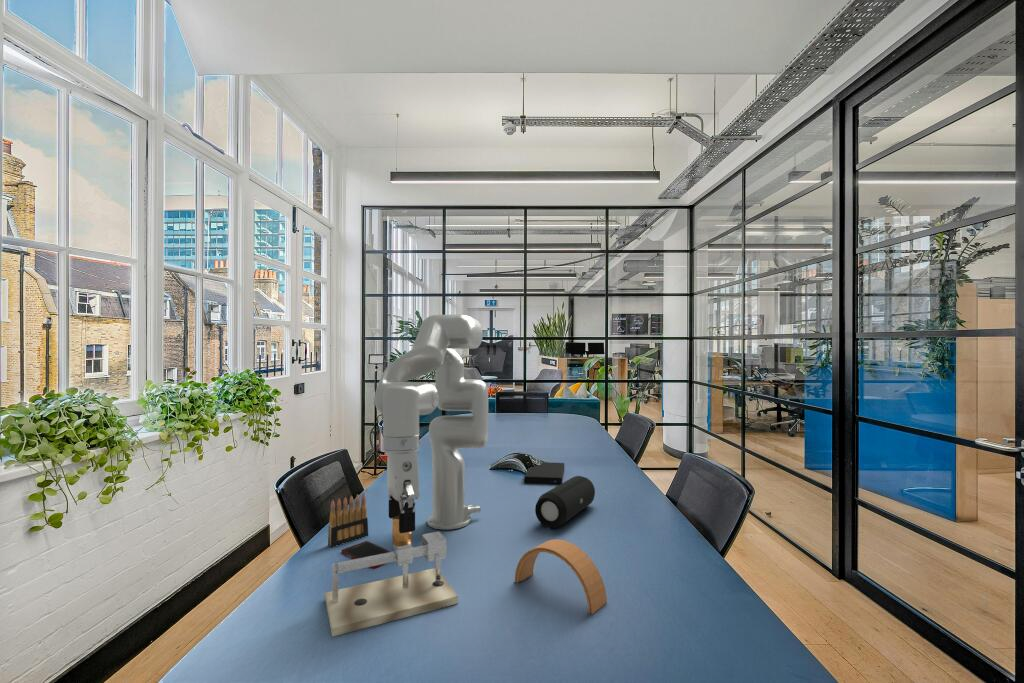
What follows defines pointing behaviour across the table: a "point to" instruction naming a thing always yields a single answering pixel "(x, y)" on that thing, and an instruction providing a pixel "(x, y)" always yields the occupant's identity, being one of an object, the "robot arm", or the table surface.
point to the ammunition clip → (348, 521)
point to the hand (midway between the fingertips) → (401, 524)
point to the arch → (578, 564)
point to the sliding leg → (402, 549)
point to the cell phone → (364, 551)
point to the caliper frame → (395, 559)
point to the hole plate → (387, 601)
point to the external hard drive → (545, 474)
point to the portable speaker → (564, 501)
